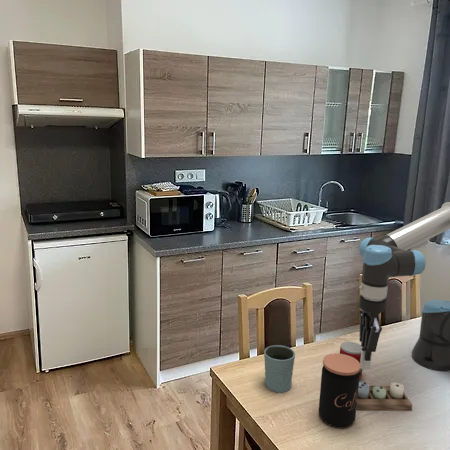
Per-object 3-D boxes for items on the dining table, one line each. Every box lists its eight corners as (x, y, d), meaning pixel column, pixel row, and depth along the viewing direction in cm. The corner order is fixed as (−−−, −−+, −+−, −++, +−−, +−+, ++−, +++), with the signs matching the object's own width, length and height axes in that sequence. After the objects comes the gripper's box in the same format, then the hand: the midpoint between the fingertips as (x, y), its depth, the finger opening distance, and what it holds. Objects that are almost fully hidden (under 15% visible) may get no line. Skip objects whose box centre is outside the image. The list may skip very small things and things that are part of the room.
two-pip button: (382, 394, 142) (383, 385, 141) (387, 402, 138) (388, 392, 137) (370, 394, 141) (371, 385, 141) (374, 402, 138) (375, 392, 137)
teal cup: (281, 397, 140) (283, 363, 137) (256, 384, 146) (257, 352, 144) (298, 384, 147) (301, 352, 144) (274, 372, 154) (276, 341, 151)
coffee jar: (332, 433, 124) (338, 375, 120) (311, 410, 134) (315, 357, 130) (362, 424, 128) (369, 368, 124) (339, 402, 138) (344, 350, 134)
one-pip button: (399, 391, 141) (401, 381, 141) (405, 398, 137) (406, 389, 137) (387, 391, 141) (388, 381, 140) (392, 398, 137) (393, 388, 137)
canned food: (362, 383, 149) (365, 353, 146) (338, 380, 150) (341, 350, 148) (360, 371, 156) (363, 343, 154) (337, 368, 158) (339, 340, 155)
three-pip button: (365, 390, 141) (366, 381, 140) (370, 398, 137) (371, 388, 136) (353, 390, 141) (354, 381, 140) (357, 398, 137) (358, 388, 136)
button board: (398, 391, 145) (399, 385, 144) (411, 410, 135) (412, 404, 135) (347, 390, 144) (347, 385, 144) (356, 410, 135) (357, 404, 134)
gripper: (353, 288, 138) (346, 356, 143) (367, 305, 125) (359, 379, 130) (377, 289, 138) (369, 357, 143) (393, 305, 125) (384, 379, 131)
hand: (364, 367), depth 137 cm, fingers closed
